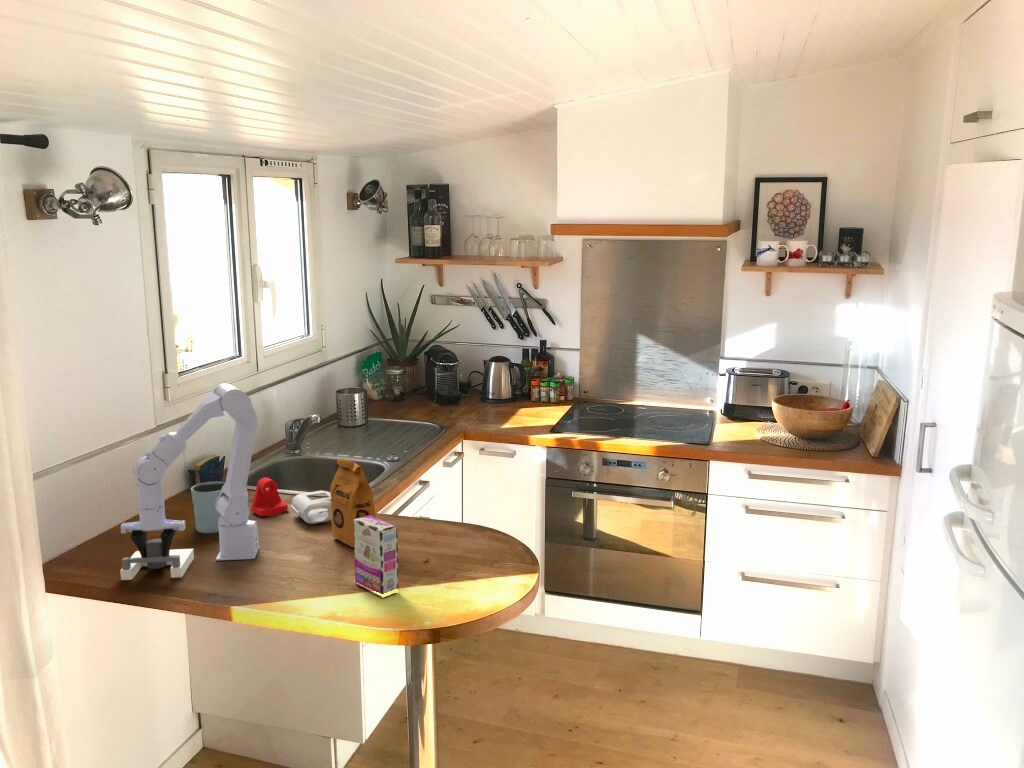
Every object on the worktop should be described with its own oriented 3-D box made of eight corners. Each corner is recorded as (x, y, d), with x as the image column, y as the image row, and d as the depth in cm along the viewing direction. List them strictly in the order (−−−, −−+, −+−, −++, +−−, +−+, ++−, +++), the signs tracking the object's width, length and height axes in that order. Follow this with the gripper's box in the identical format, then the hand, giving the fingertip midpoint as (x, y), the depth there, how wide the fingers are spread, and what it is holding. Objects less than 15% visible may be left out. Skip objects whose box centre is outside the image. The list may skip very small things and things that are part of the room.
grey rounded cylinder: (163, 568, 206) (161, 544, 205) (144, 569, 206) (142, 545, 205) (168, 561, 211) (167, 538, 209) (150, 562, 210) (148, 539, 209)
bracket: (261, 518, 245) (259, 485, 243) (251, 513, 250) (250, 480, 248) (289, 511, 251) (287, 479, 249) (279, 506, 255) (277, 474, 253)
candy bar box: (400, 592, 196) (398, 525, 193) (382, 599, 193) (380, 531, 190) (371, 578, 204) (369, 513, 201) (354, 584, 201) (352, 518, 198)
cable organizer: (343, 500, 241) (329, 488, 251) (301, 507, 235) (288, 495, 245) (344, 522, 242) (329, 510, 252) (302, 530, 236) (288, 517, 246)
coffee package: (348, 552, 220) (344, 471, 216) (327, 538, 230) (324, 460, 226) (382, 543, 226) (379, 464, 222) (360, 530, 236) (358, 454, 232)
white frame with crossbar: (194, 557, 216) (192, 538, 215) (181, 577, 205) (180, 557, 204) (136, 560, 215) (135, 541, 214) (121, 580, 203) (119, 560, 202)
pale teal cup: (186, 531, 235) (182, 490, 232) (209, 519, 244) (207, 479, 242) (216, 535, 231) (213, 493, 229) (239, 523, 241) (237, 483, 239)
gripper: (186, 499, 210) (190, 551, 212) (125, 501, 208) (130, 553, 211) (179, 508, 203) (183, 562, 205) (115, 511, 201) (120, 565, 204)
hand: (156, 558), depth 208 cm, fingers closed on grey rounded cylinder, 4 cm apart
